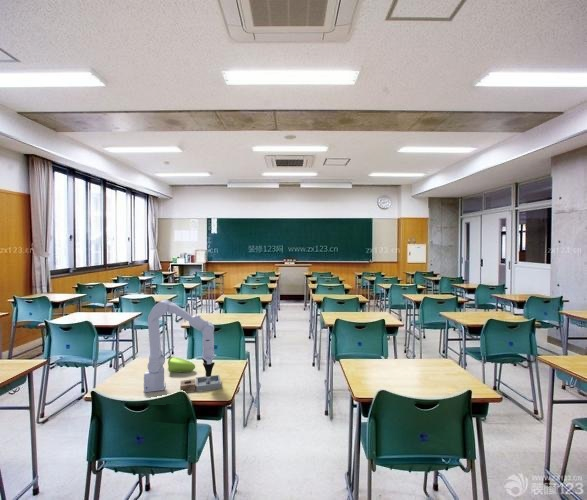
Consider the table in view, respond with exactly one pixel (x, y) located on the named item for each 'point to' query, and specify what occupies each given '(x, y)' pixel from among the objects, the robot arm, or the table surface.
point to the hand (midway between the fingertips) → (208, 373)
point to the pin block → (187, 385)
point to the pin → (208, 380)
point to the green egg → (179, 365)
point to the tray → (203, 386)
